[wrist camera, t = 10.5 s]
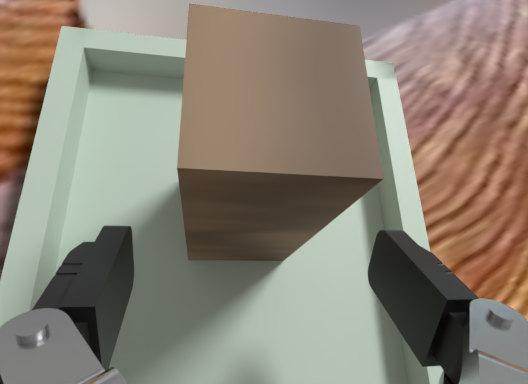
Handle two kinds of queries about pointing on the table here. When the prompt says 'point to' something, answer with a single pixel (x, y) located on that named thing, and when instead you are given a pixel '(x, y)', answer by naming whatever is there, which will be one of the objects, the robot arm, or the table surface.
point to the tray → (174, 241)
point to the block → (271, 132)
